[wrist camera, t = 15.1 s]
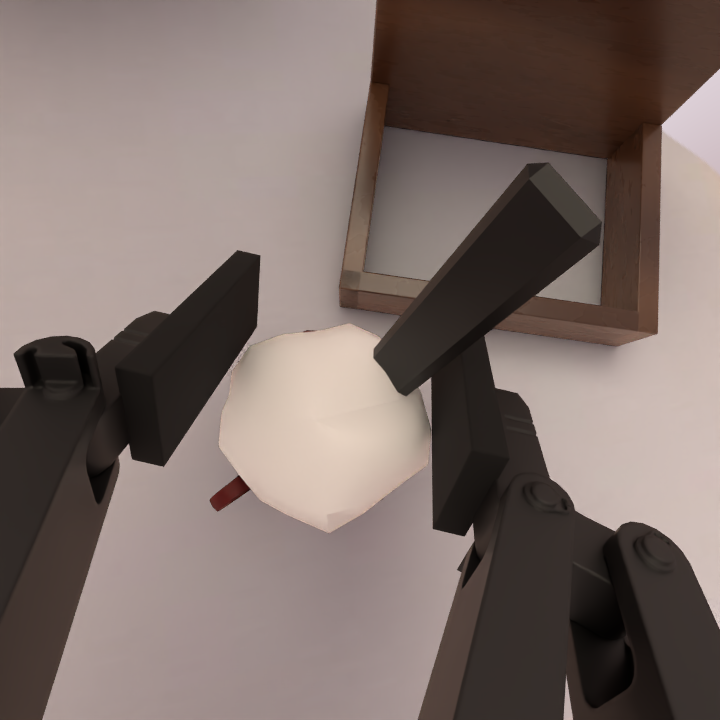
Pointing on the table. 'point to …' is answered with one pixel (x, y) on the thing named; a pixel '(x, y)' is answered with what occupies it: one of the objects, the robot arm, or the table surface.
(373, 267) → the table surface
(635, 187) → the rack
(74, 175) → the table surface
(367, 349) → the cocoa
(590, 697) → the robot arm
